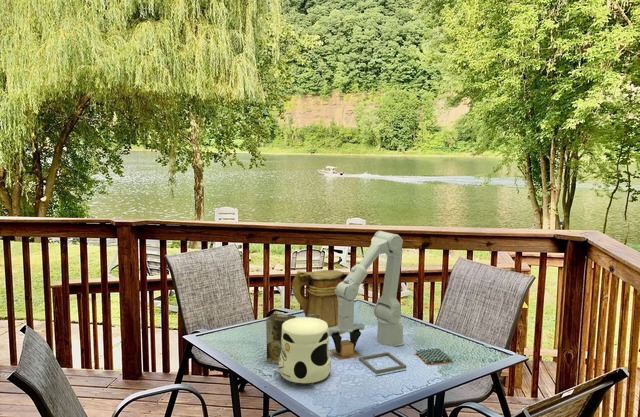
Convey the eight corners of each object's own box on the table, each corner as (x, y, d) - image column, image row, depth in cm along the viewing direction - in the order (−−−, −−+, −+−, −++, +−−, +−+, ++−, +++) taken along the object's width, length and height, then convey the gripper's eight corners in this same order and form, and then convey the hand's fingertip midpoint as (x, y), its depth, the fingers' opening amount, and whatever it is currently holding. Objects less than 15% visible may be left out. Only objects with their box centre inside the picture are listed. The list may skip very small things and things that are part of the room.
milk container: (268, 374, 172) (268, 322, 170) (310, 361, 183) (310, 312, 180) (298, 394, 158) (298, 339, 156) (341, 379, 169) (342, 327, 167)
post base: (350, 349, 193) (350, 339, 193) (361, 358, 185) (361, 348, 185) (328, 352, 190) (328, 343, 189) (339, 362, 182) (339, 352, 181)
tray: (387, 357, 187) (388, 352, 187) (406, 370, 176) (406, 365, 176) (358, 362, 182) (358, 357, 182) (375, 376, 171) (375, 371, 171)
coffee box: (296, 358, 184) (296, 315, 182) (289, 366, 178) (289, 321, 176) (273, 355, 187) (273, 312, 185) (265, 362, 181) (265, 318, 179)
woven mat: (427, 367, 180) (427, 361, 180) (413, 355, 190) (414, 349, 190) (453, 364, 183) (453, 358, 183) (439, 352, 193) (439, 347, 193)
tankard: (351, 337, 205) (352, 277, 201) (292, 338, 203) (292, 277, 200) (345, 321, 223) (346, 265, 219) (291, 322, 221) (292, 266, 218)
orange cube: (347, 349, 190) (348, 339, 190) (353, 354, 186) (353, 344, 186) (336, 351, 189) (337, 341, 188) (342, 356, 184) (342, 345, 184)
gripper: (332, 321, 179) (331, 358, 181) (368, 315, 185) (367, 351, 187) (324, 314, 185) (323, 350, 187) (359, 309, 191) (358, 344, 193)
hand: (345, 350), depth 187 cm, fingers open, 5 cm apart
